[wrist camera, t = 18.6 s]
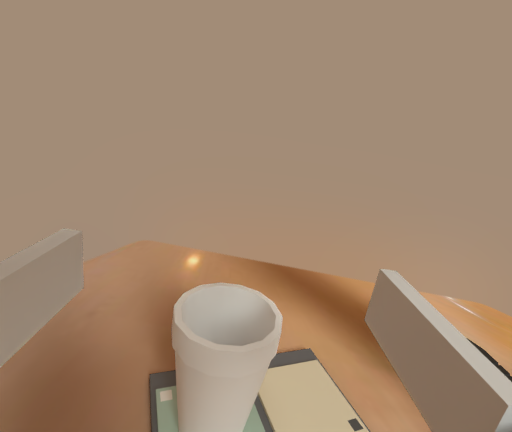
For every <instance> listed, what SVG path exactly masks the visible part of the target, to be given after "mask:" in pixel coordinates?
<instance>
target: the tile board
mask: <svg viewBox="0 0 512 432" xmlns="http://www.w3.org/2000/svg"><path fill="white" fill-rule="evenodd" d="M149 381H150V408H151V432H179V427H178V408H177V387H176V370H174V371H167V372H161V373H155V374H150V379H149ZM243 432H370V430H369V429H368V428H367V426H366V425H365V424H364V422H363V421H362V419H361V418H360V417H359V415H358V414H357V413H356V411H355V410H354V408H353V407H352V406H351V404H350V403H349V401H348V400H347V399H346V397H345V396H344V395H343V393H342V392H341V390H340V389H339V388H338V386H337V385H336V384H335V382H334V381H333V379H332V378H331V377H330V375H329V374H328V373H327V371H326V370H325V368H324V367H323V366H322V364H321V363H320V361H319V360H318V359H317V357H316V356H315V355H314V353H313V352H312V350H311V349H310V348H309V349H303V350H297V351H291V352H285V353H278V354H276V355H275V357H274V358H273V359H272V360H271V362H270V365H269V367H268V370H267V372H266V375H265V377H264V380H263V382H262V384H261V387H260V389H259V392H258V394H257V397H256V399H255V402H254V404H253V407H252V409H251V412H250V414H249V417H248V419H247V422H246V424H245V427H244V429H243Z"/></svg>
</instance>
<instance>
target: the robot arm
mask: <svg viewBox="0 0 512 432" xmlns="http://www.w3.org/2000/svg"><path fill="white" fill-rule="evenodd" d="M83 288H84V276H83V243H82V231H80V230H73V229H65V228H64V229H61V230H60V231H57V232H56V233H54V234H52V235H50V236H48V237H46V238H44V239H42V240H41V241H39V242H37V243H35V244H33V245H31V246H29V247H28V248H26V249H24V250H22V251H20V252H18V253H16V254H14V255H13V256H11V257H9V258H7V259H5V260H3V261H1V262H0V368H1V367H2V366H3V365H4V364H5V363H6V362H7V361H8V360H9V359H10V358H11V357H12V356H13V355H14V354H15V353H16V352H17V351H18V350H19V349H20V348H22V347H23V346H24V345H25V344H26V343H27V342H28V341H29V340H30V339H31V338H32V337H33V336H34V335H35V334H36V333H37V332H38V331H39V330H40V329H41V328H42V327H43V326H44V325H46V324H47V323H48V322H49V321H50V320H51V319H52V318H53V317H54V316H55V315H56V314H57V313H58V312H59V311H60V310H61V309H62V308H63V307H64V306H65V305H66V304H67V303H68V302H69V301H71V300H72V299H73V298H74V297H75V296H76V295H77V294H78V293H79V292H80V291H81V290H82V289H83ZM364 320H365V322H366V324H367V325H368V327H369V329H370V330H371V332H372V334H373V335H374V337H375V338H376V340H377V342H378V343H379V345H380V347H381V348H382V350H383V352H384V353H385V355H386V357H387V358H388V360H389V362H390V363H391V365H392V367H393V368H394V370H395V371H396V373H397V375H398V376H399V378H400V380H401V381H402V383H403V385H404V386H405V388H406V390H407V391H408V393H409V395H410V396H411V398H412V400H413V401H414V403H415V405H416V406H417V408H418V409H419V411H420V413H421V414H422V416H423V418H424V419H425V421H426V423H427V424H428V426H429V428H430V429H431V431H432V432H512V377H511V376H510V374H509V373H508V372H507V371H506V370H505V369H504V368H503V367H502V366H501V365H498V362H497V361H496V360H494V359H493V358H492V357H491V356H490V355H489V354H488V353H487V352H486V351H485V350H484V349H482V348H481V347H479V346H478V345H476V344H475V343H473V342H472V341H470V340H469V339H467V338H465V337H464V336H463V335H462V334H461V333H460V332H459V331H458V330H457V329H456V328H455V327H454V326H453V325H452V324H451V323H450V322H449V321H448V320H447V319H446V318H445V317H444V316H443V315H441V314H440V313H439V312H438V311H437V310H436V309H435V308H434V307H433V306H432V305H431V304H430V303H429V302H428V301H427V300H426V299H425V298H424V297H423V296H422V295H421V294H420V293H419V292H418V291H416V290H415V289H414V288H413V287H412V286H411V285H410V284H409V283H408V282H407V281H406V280H405V279H404V278H403V277H402V276H401V275H400V274H399V273H398V272H397V271H393V270H385V269H380V271H379V274H378V277H377V281H376V284H375V287H374V290H373V293H372V297H371V300H370V303H369V306H368V310H367V313H366V316H365V319H364Z"/></svg>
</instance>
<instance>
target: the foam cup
mask: <svg viewBox="0 0 512 432" xmlns="http://www.w3.org/2000/svg"><path fill="white" fill-rule="evenodd" d="M282 317H283V316H282V315H281V313H280V311H279V310H278V308H277V306H276V305H275V303H274V302H273V301H271V300H270V299H269V298H267V297H266V296H264V295H263V294H262V293H260V292H259V291H256V290H253V289H250V288H248V287H245V286H242V285H238V284H228V283H213V284H205V285H199V286H197V287H195V288H193V289H191V290H189V291H187V292H185V293H183V294H182V296H181V297H180V298H179V300H178V301H177V302H176V304H175V305H174V309H173V319H172V328H171V331H172V347H173V349H174V350H175V366H176V387H177V408H178V427H179V432H243V429H244V427H245V424H246V422H247V419H248V417H249V414H250V412H251V409H252V407H253V404H254V402H255V399H256V397H257V394H258V392H259V389H260V387H261V384H262V382H263V380H264V377H265V375H266V372H267V370H268V367H269V365H270V362H271V360H272V359H273V358H274V357H275V355H276V353H277V348H278V344H279V340H280V335H281V330H282Z"/></svg>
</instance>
